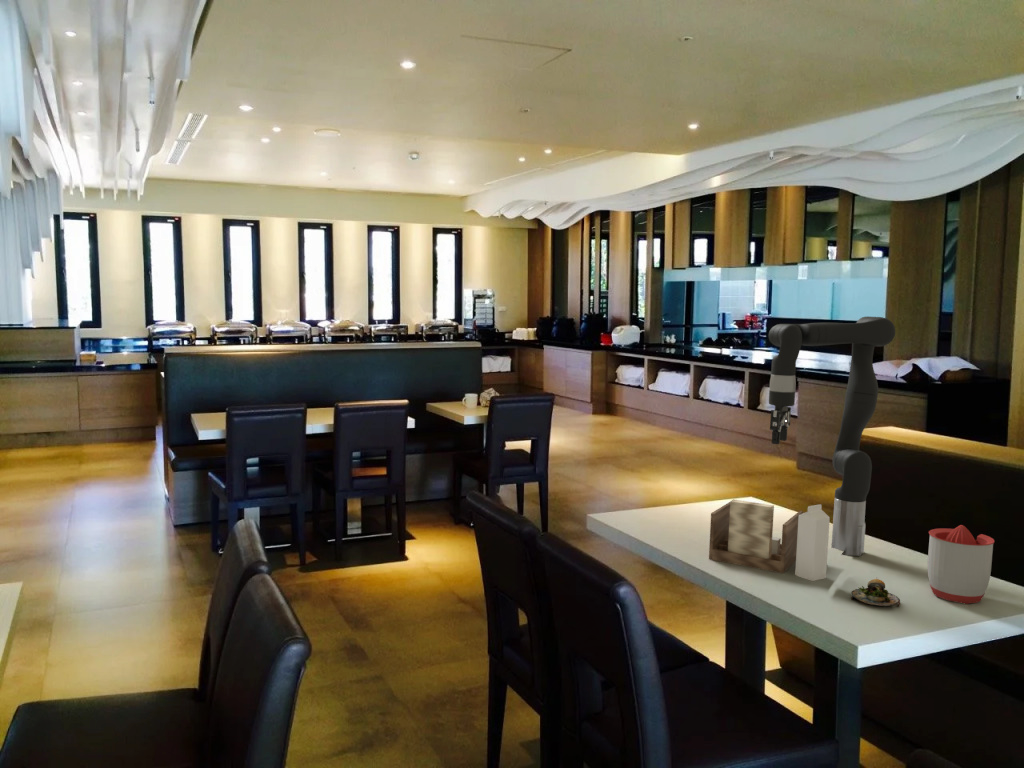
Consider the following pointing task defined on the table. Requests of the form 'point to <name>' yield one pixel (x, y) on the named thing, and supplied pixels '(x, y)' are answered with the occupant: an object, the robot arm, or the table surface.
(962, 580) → the citrus juicer
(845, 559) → the table surface
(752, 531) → the beige patterned book
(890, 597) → the burger
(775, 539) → the offcut
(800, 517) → the milk
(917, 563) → the table surface
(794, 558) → the rack
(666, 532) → the table surface
